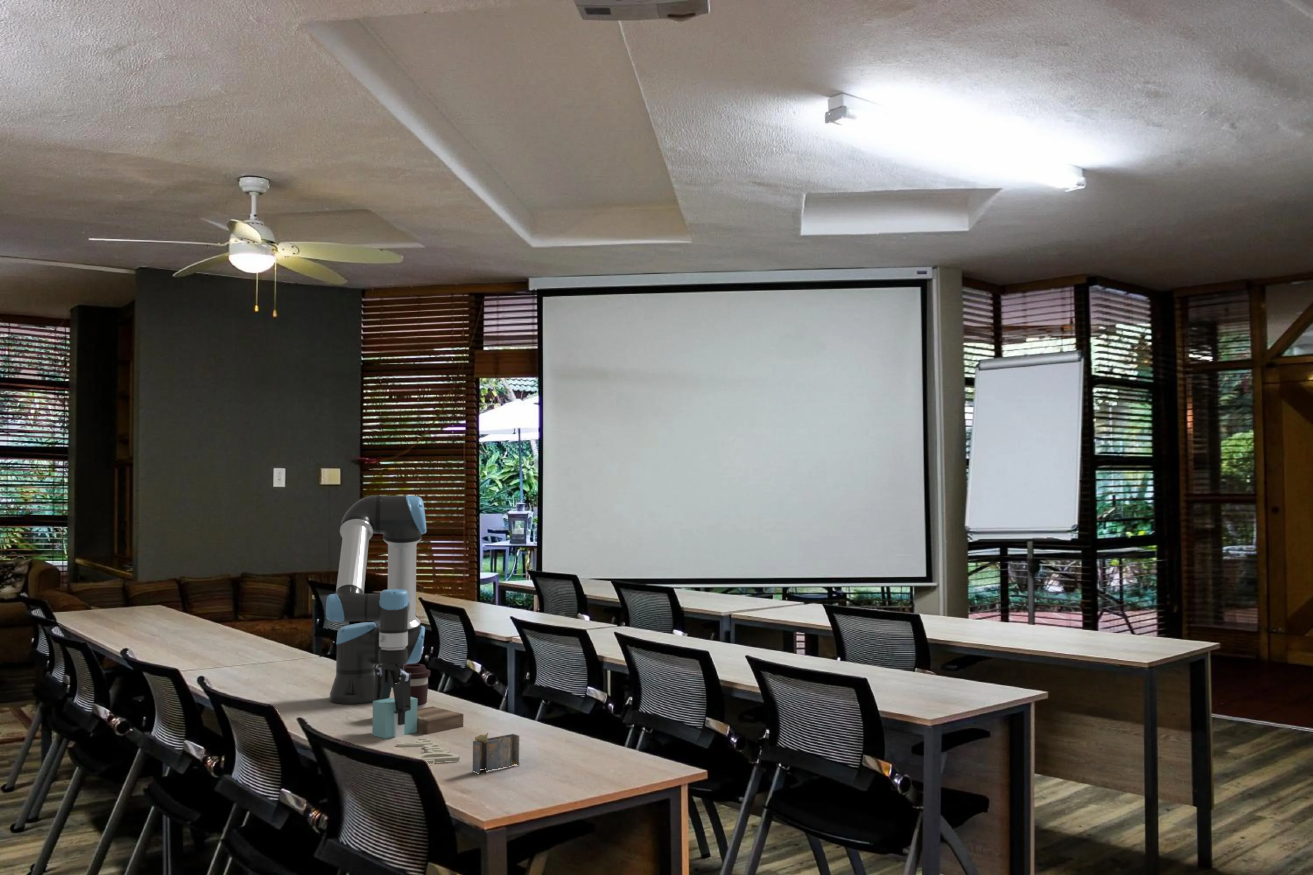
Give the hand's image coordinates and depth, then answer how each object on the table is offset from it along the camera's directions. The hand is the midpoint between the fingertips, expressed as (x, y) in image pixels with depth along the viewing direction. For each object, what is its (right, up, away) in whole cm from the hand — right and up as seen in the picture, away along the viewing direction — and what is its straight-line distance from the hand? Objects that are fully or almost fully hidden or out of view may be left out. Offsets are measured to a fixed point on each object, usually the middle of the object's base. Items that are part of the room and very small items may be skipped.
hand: (391, 734), depth 280 cm
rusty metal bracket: (+33, 0, -31) cm, 45 cm away
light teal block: (+1, 0, +1) cm, 1 cm away
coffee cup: (0, -1, +22) cm, 22 cm away
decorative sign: (+13, 0, -17) cm, 22 cm away
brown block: (+8, -1, +9) cm, 13 cm away
